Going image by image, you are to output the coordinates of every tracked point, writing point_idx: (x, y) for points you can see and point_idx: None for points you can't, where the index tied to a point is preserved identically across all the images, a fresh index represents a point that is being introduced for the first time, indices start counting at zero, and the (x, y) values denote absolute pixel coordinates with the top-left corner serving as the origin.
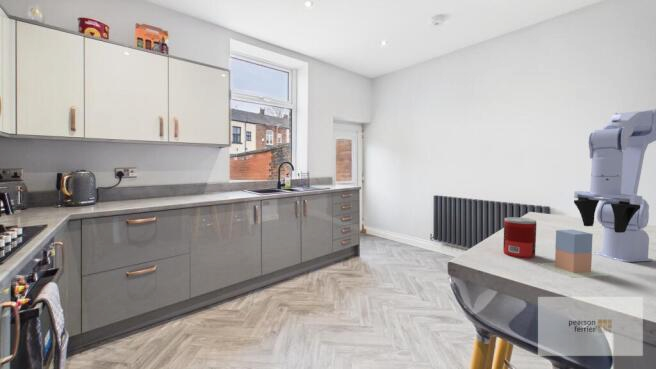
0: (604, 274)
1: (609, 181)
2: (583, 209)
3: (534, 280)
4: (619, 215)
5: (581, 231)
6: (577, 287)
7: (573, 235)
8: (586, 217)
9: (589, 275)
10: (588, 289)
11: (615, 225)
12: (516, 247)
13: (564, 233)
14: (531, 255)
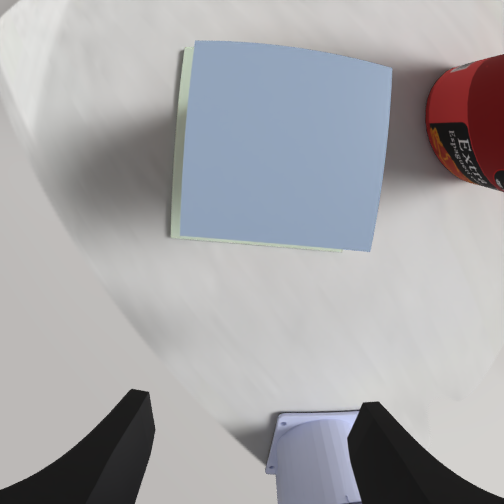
0: (180, 212)
1: None
2: (425, 498)
3: None
4: (46, 470)
5: (287, 243)
6: (121, 4)
7: (208, 44)
8: (385, 456)
9: (183, 136)
10: (100, 24)
11: (121, 419)
12: (470, 64)
13: (301, 51)
14: (431, 118)
